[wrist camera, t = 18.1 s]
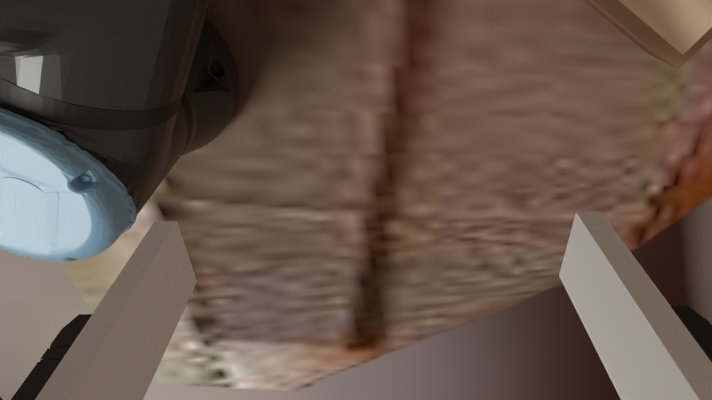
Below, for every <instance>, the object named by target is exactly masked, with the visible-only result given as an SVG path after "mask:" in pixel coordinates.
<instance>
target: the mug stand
mask: <svg viewBox="0 0 712 400" xmlns="http://www.w3.org/2000/svg"><path fill="white" fill-rule="evenodd" d="M584 1H585V2H586V3H587V4H589V5H590V6H591V7H592V8H593V9H595V10H596V11H597V12H598V13H600V14H601V15H602V16H603V17H604V18H606V19H607V20H608V21H609V22H611V23H612V24H613V25H614V26H615V27H617V28H618V29H619V30H620V31H622V32H623V33H624V34H625V35H626V36H628V37H629V38H630V39H631V40H632V41H634V42H635V43H636V44H637V45H639V46H640V47H641V48H642V49H643V50H645V51H646V52H647V53H649V54H651V55H652V56H654V57H656V58H658V59H660V60H661V61H663V62H665V63H667V64H669V65H670V66H672V67H674V68H676V69H679V68H680V67H681V66H682V65H683V64H684V63H685V62H686V61H687V60H688V59H689V58H691V57H692V56H693V55H694V54H695V53H696V52H697V51H698V50H699V49H700V48H701V47H702V46H703V45H704V44H705V43H706V42H707V41H708V40H709V39H711V38H712V0H584Z"/></svg>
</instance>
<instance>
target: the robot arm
mask: <svg viewBox="0 0 712 400" xmlns="http://www.w3.org/2000/svg"><path fill="white" fill-rule="evenodd" d="M209 2H210V0H0V248H1V249H4V250H7V251H9V252H12V253H15V254H18V255H21V256H25V257H29V258H33V259H38V260H44V261H53V262H69V261H74V260H77V259H86V258H91V257H93V256H96V255H98V254H100V253H102V252H103V251H105V250H106V249H108V248H109V247H110V246H111V245H112V244H113V243H114V242H115V241H116V240H117V239H118V237H119V236H120V235H121V234H122V233H124V232H125V231H127V230H129V229H130V228H131V226H132V225H133V224H134V222H135V220H136V216H137V214H138V213H139V211H140V210H141V209H142V207H143V206H144V205H145V203H146V202H147V201H148V199H149V198H150V197H151V195H152V194H153V193H154V191H155V190H156V188H157V187H158V186H159V184H160V183H161V182H162V180H163V179H164V178H165V176H166V175H167V174H168V172H169V171H170V170H171V168H172V167H173V165H174V164H175V163H176V161H177V160H178V159H179V157H180V156H181V155H184V154H186V153H189V152H191V151H194V150H196V149H199V148H201V147H203V146H205V145H207V144H208V143H210V142H211V141H212V140H214V139H215V138H216V137H217V136H218V135H219V134H220V133H221V132H222V130H223V129H224V128H225V126H226V125H227V123H228V122H229V120H230V118H231V117H232V115H233V113H234V111H235V108H236V105H237V100H238V93H239V82H238V74H237V69H236V66H235V62H234V60H233V57H232V55H231V53H230V51H229V49H228V47H227V45H226V43H225V42H224V40H223V39H222V37H221V36H220V35H219V33H218V32H217V31H216V30H215V29H214V27H213V26H212V25H211V24H210V23H209V22H208V21H207V20H206V19H205V16H206V13H207V9H208V6H209ZM559 276H560V278H561V280H562V282H563V284H564V286H565V288H566V290H567V292H568V294H569V296H570V298H571V300H572V302H573V304H574V306H575V308H576V310H577V312H578V314H579V316H580V318H581V320H582V322H583V324H584V326H585V328H586V330H587V332H588V334H589V336H590V338H591V340H592V342H593V344H594V346H595V348H596V350H597V352H598V354H599V356H600V358H601V360H602V362H603V364H604V366H605V368H606V370H607V372H608V374H609V376H610V378H611V380H612V382H613V384H614V386H615V388H616V390H617V392H618V394H619V396H620V398H621V400H712V325H711V324H710V323H709V321H707V320H706V319H705V318H703V317H702V316H701V315H699V314H698V313H697V312H695V311H694V310H693V309H691V308H690V307H689V306H670V305H669V304H668V302H667V301H666V300H665V298H664V297H663V296H662V294H661V293H660V292H659V290H658V289H657V287H656V286H655V285H654V283H653V282H652V281H651V279H650V278H649V276H648V275H647V274H646V272H645V271H644V270H643V268H642V267H641V266H640V264H639V263H638V262H637V260H636V259H635V258H634V256H633V255H632V253H631V252H630V251H629V249H628V248H627V247H626V245H625V244H624V243H623V241H622V240H621V238H620V237H619V236H618V234H617V233H616V232H615V230H614V229H613V228H612V226H611V225H610V223H609V222H608V221H607V219H606V218H605V217H604V215H603V214H602V213H601V212H576V215H575V219H574V222H573V226H572V230H571V233H570V237H569V241H568V244H567V248H566V252H565V255H564V259H563V263H562V266H561V270H560V274H559ZM196 282H197V280H196V277H195V274H194V271H193V268H192V265H191V262H190V259H189V256H188V253H187V250H186V247H185V244H184V241H183V238H182V235H181V232H180V229H179V226H178V223H177V221H167V222H154V223H153V225H152V226H151V228H150V229H149V231H148V232H147V234H146V235H145V237H144V238H143V240H142V241H141V243H140V244H139V246H138V247H137V249H136V250H135V252H134V253H133V255H132V256H131V258H130V259H129V261H128V262H127V264H126V265H125V267H124V268H123V270H122V271H121V272H120V274H119V275H118V277H117V278H116V280H115V281H114V283H113V284H112V286H111V287H110V289H109V290H108V292H107V293H106V295H105V296H104V298H103V299H102V301H101V302H100V304H99V305H98V307H97V308H96V310H95V311H94V313H93V314H91V315H89V314H88V315H78V316H77V317H76V318H75V319H73V320H72V321H71V322H70V323H69V324H67V325H66V326H65V327H64V328H63V329H62V330H61V331H60V333H59V334H58V335H57V337H56V338H55V339H54V341H53V342H52V344H51V345H50V349H47V351H46V352H45V353H44V355H43V356H42V357H41V361H40V362H38V363H37V365H36V366H35V367H34V369H33V370H32V371H31V373H30V374H29V375H28V377H27V378H26V380H25V381H24V382H23V384H22V385H21V387H20V388H19V389H18V391H17V392H16V394H15V395H14V396H13V398H12V399H11V400H143V398H144V396H145V394H146V392H147V389H148V387H149V385H150V383H151V381H152V378H153V376H154V374H155V372H156V370H157V367H158V365H159V363H160V361H161V359H162V357H163V354H164V352H165V350H166V348H167V346H168V343H169V341H170V339H171V337H172V335H173V332H174V330H175V328H176V326H177V324H178V321H179V319H180V317H181V315H182V313H183V311H184V308H185V306H186V304H187V302H188V300H189V297H190V295H191V293H192V291H193V289H194V286H195V284H196ZM0 400H2V399H1V398H0Z"/></svg>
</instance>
